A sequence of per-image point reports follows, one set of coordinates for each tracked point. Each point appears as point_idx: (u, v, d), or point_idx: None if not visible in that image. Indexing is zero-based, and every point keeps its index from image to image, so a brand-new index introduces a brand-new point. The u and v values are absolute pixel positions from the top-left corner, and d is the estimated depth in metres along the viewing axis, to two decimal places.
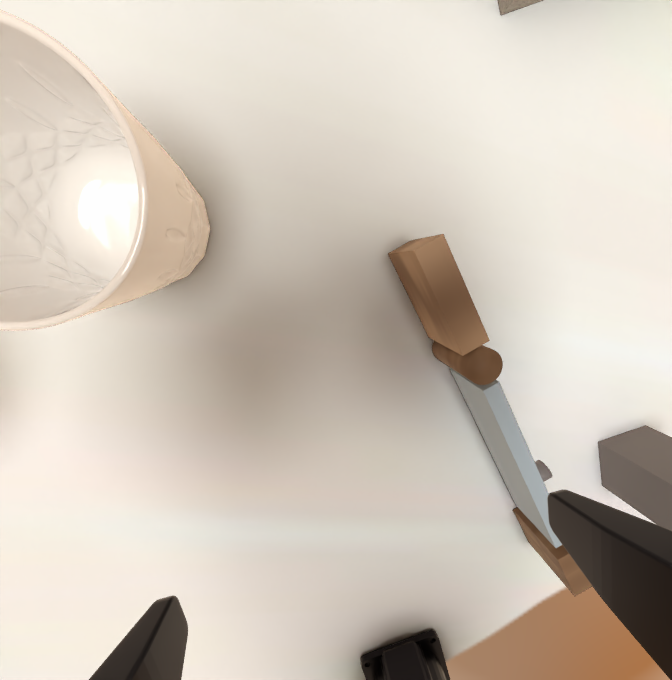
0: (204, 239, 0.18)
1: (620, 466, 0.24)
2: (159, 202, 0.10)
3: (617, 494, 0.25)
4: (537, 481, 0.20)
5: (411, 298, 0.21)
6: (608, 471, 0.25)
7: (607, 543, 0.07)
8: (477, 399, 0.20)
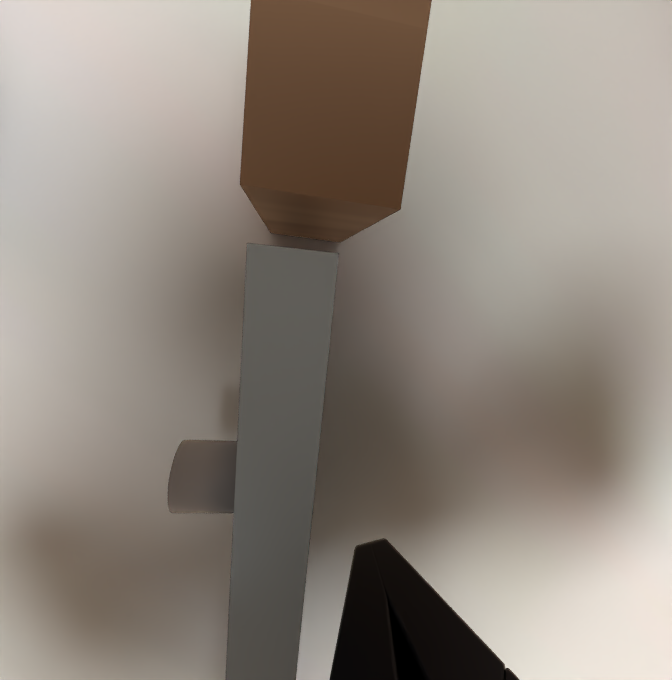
0: None
1: None
2: None
3: None
4: (250, 643, 0.05)
5: None
6: None
7: None
8: None
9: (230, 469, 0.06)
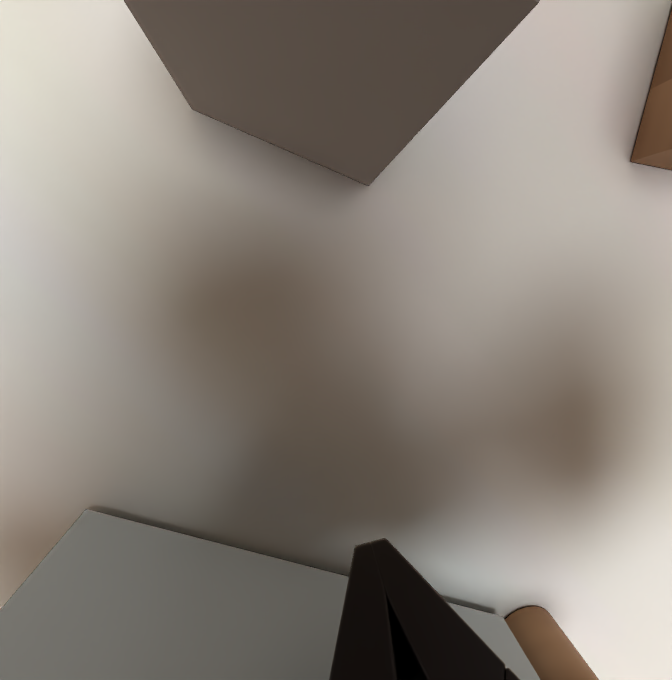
0: None
1: None
2: None
3: None
4: None
5: None
6: None
7: None
8: None
9: None
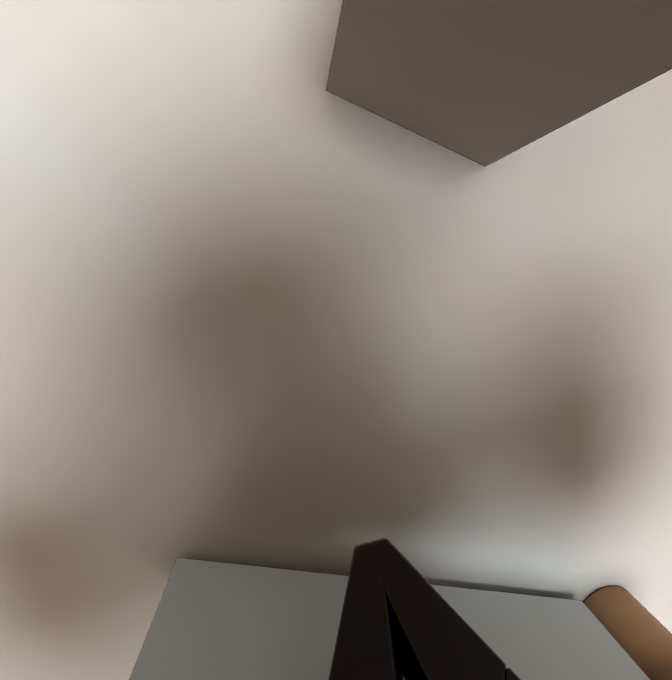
0: None
1: None
2: None
3: None
4: None
5: None
6: None
7: None
8: None
9: None
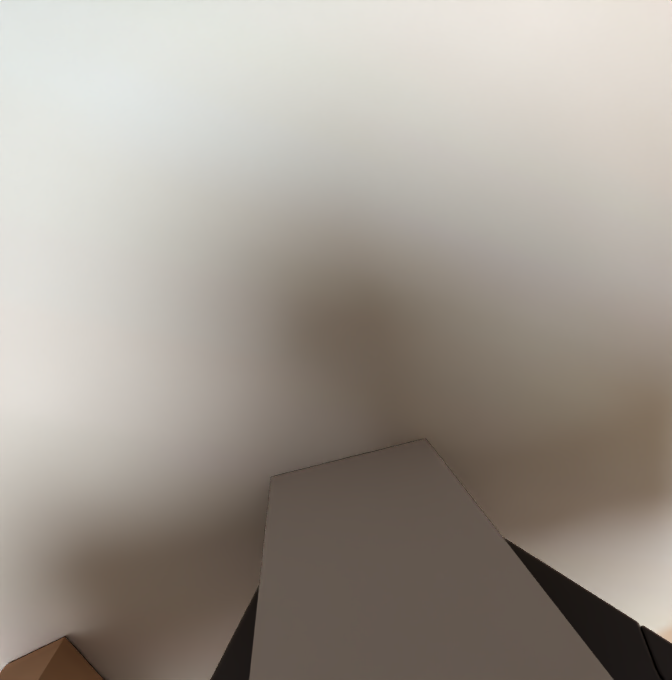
0: None
1: None
2: None
3: None
4: None
5: None
6: None
7: None
8: None
9: None
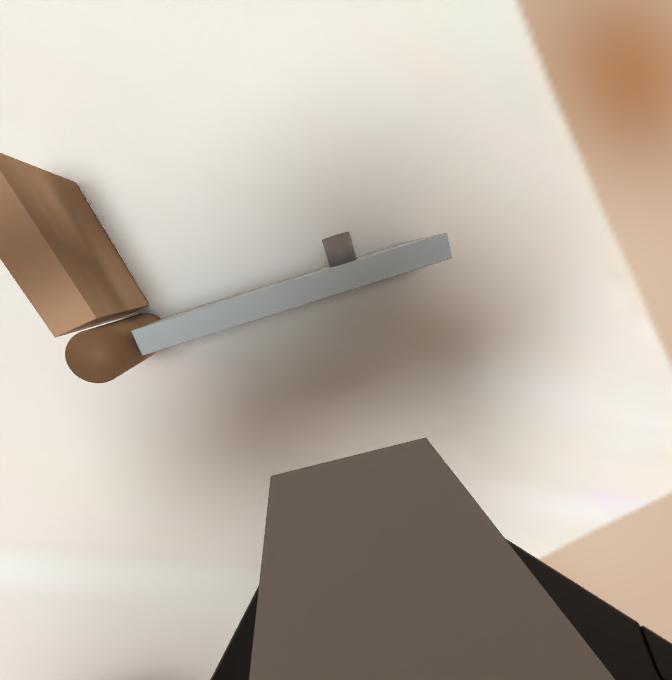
0: None
1: None
2: None
3: None
4: (318, 281, 0.13)
5: None
6: None
7: None
8: None
9: (351, 254, 0.14)
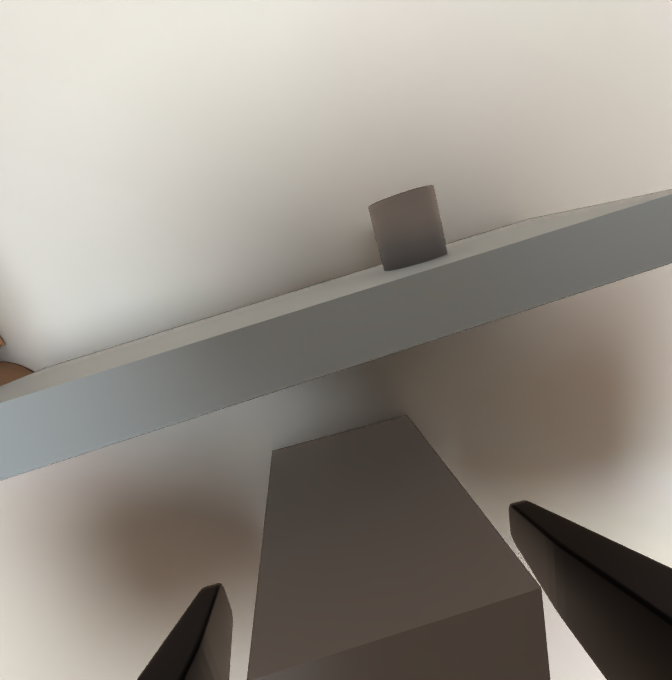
0: None
1: None
2: None
3: None
4: (371, 311, 0.05)
5: None
6: None
7: (559, 557, 0.06)
8: None
9: (441, 239, 0.06)
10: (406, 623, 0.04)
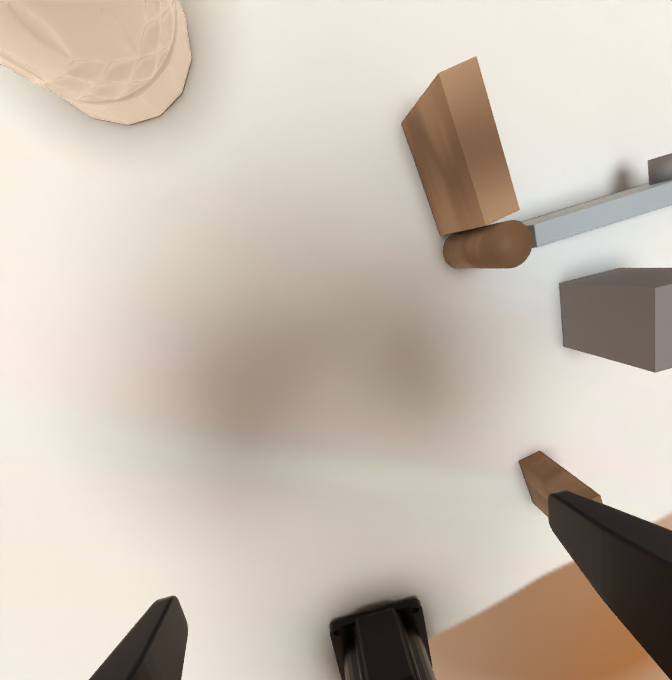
0: (181, 60, 0.14)
1: (584, 302, 0.19)
2: None
3: (580, 348, 0.20)
4: None
5: (424, 180, 0.17)
6: (570, 320, 0.20)
7: (607, 543, 0.07)
8: None
9: None
10: None
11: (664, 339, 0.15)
